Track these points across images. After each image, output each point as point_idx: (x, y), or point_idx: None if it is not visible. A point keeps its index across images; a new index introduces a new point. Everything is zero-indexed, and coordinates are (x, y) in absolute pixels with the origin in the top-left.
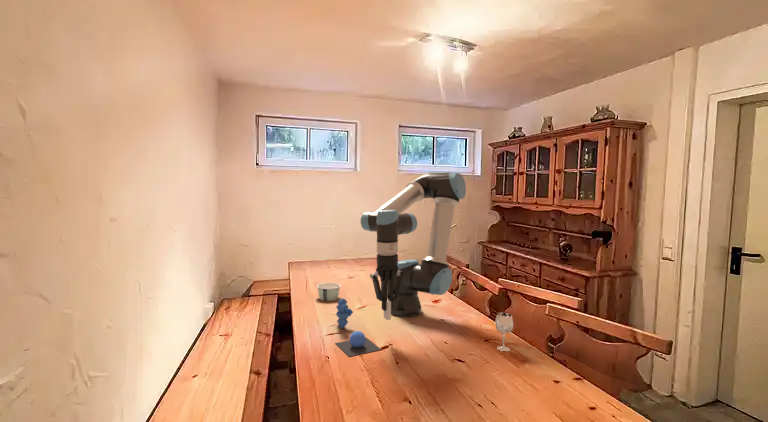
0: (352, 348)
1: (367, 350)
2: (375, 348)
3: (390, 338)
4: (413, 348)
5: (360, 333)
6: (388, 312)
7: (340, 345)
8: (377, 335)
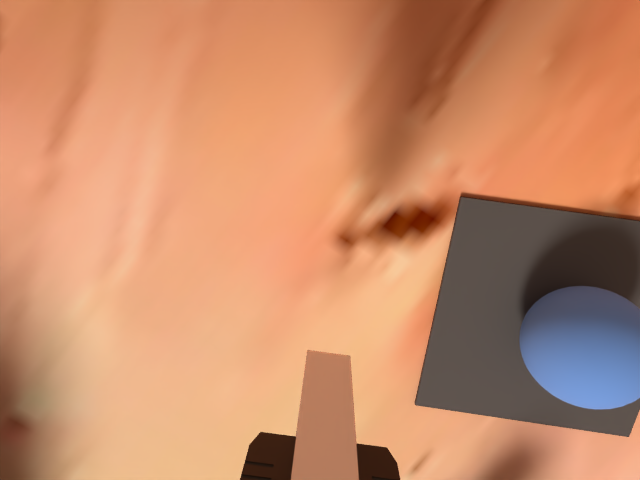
0: None
1: (548, 236)
2: (484, 232)
3: (288, 312)
4: (258, 91)
5: (616, 346)
6: (336, 404)
7: None
8: None
